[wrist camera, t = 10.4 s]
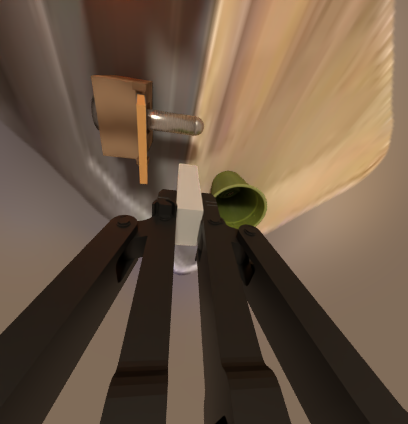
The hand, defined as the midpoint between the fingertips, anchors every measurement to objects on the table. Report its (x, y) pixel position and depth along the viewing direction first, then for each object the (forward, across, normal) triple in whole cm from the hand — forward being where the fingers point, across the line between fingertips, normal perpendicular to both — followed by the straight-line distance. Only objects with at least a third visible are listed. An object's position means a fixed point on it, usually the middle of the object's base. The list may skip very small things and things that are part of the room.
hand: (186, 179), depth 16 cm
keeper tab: (+10, -6, 0) cm, 12 cm away
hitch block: (+25, -9, 0) cm, 27 cm away
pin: (+22, -5, +1) cm, 23 cm away
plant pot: (+26, +11, -12) cm, 30 cm away
